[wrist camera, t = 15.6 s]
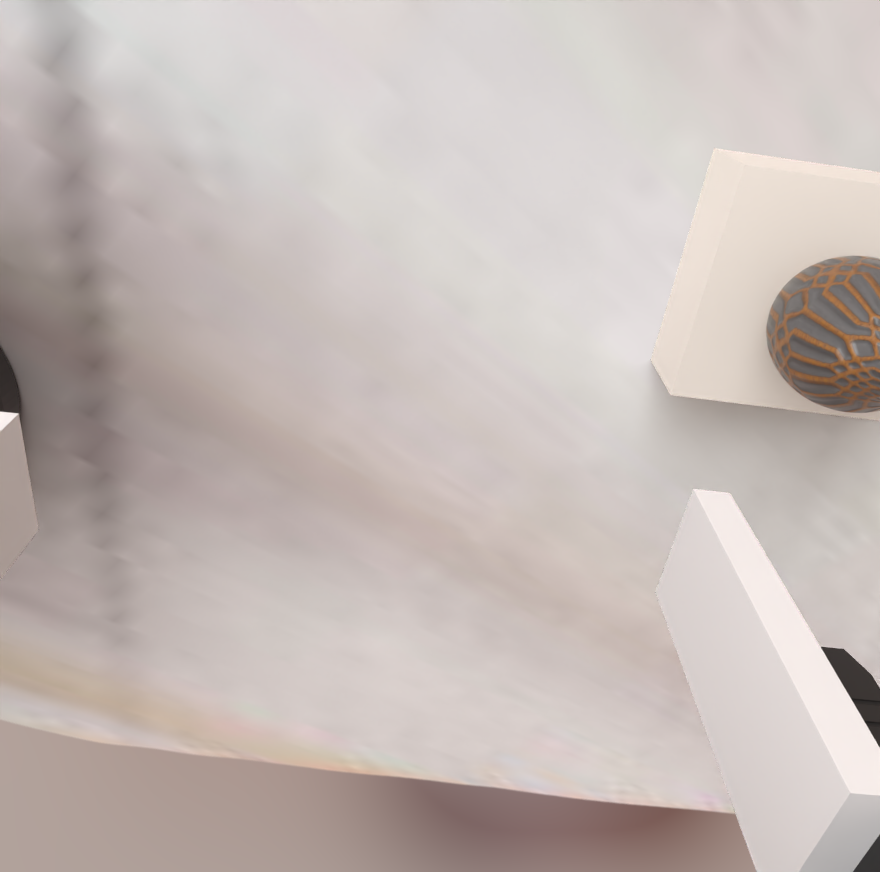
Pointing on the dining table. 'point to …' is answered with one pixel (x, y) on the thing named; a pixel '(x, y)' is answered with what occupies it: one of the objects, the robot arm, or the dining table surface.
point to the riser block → (757, 271)
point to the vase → (830, 333)
